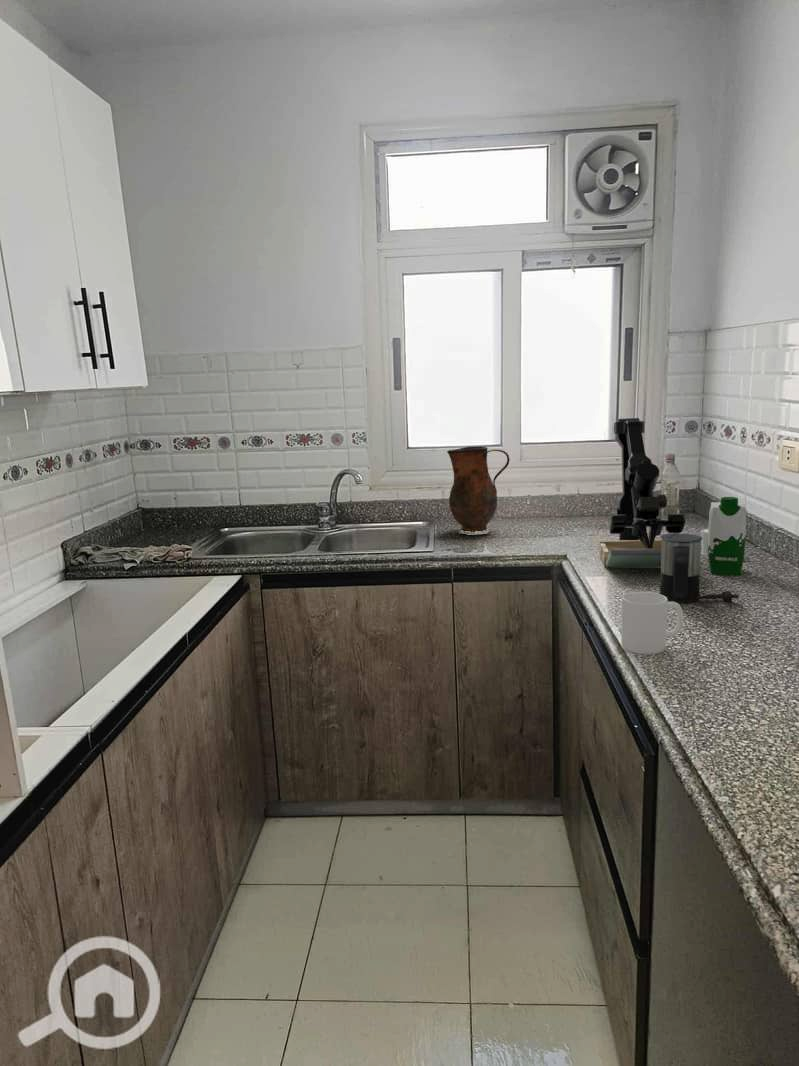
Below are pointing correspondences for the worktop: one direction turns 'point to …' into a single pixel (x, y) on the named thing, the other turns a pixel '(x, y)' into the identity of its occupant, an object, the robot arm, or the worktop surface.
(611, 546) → the beige open tray
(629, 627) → the cup
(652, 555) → the sage green panel
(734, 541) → the milk carton
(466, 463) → the pitcher
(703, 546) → the shot glass
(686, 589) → the milk frother
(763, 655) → the worktop surface
